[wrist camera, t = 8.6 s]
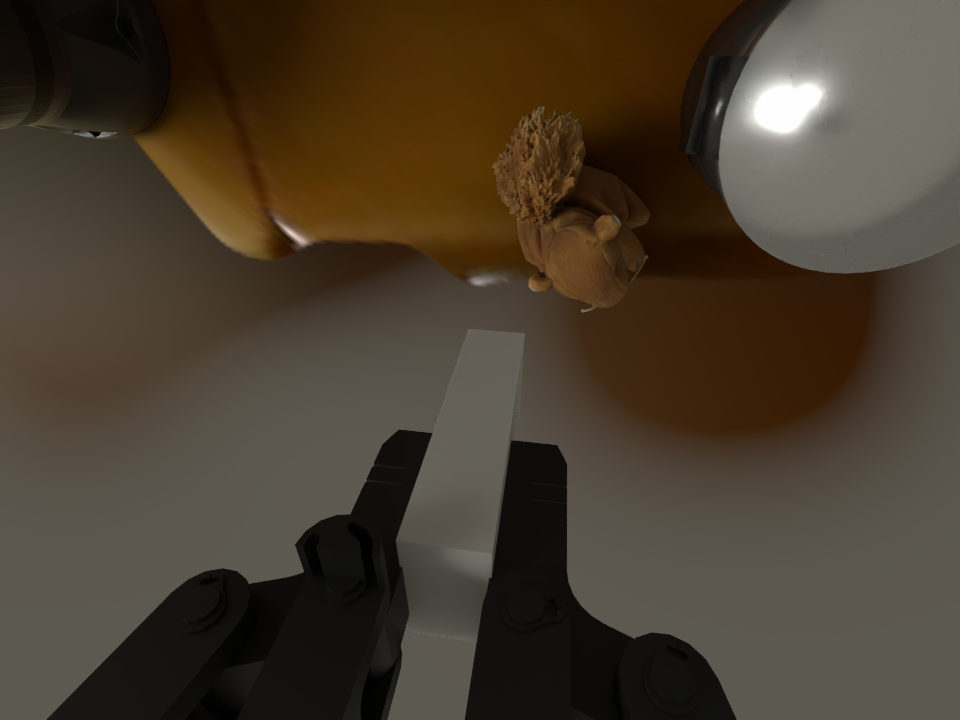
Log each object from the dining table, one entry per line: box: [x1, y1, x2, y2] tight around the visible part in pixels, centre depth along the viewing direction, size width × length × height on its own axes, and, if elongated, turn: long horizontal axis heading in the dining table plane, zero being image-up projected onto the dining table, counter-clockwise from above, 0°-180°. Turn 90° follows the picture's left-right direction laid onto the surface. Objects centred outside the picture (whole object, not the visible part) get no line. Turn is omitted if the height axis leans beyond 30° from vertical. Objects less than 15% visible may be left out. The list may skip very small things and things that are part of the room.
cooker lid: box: [695, 0, 960, 273], centre depth 22 cm, size 15×15×1 cm
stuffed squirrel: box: [492, 106, 650, 313], centre depth 34 cm, size 10×14×13 cm
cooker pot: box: [679, 0, 786, 200], centre depth 28 cm, size 15×14×12 cm
